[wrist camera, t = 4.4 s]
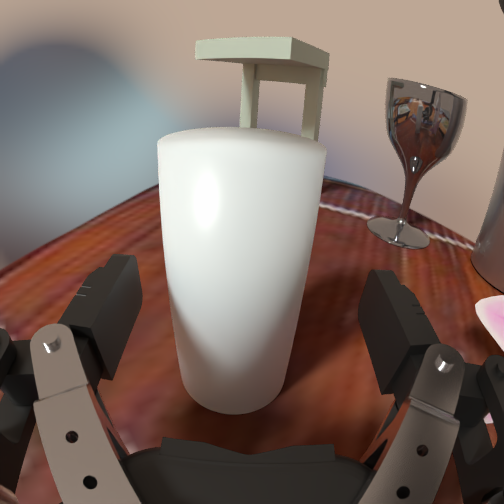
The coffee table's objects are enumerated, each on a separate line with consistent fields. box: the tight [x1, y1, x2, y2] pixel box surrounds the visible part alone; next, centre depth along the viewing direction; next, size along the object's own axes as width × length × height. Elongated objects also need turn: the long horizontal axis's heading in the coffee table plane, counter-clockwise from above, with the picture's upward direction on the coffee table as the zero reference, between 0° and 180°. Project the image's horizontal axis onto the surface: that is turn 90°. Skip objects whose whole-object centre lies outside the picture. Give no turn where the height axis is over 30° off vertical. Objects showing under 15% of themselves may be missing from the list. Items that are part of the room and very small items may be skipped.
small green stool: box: [195, 37, 329, 142], centre depth 31 cm, size 10×10×17 cm
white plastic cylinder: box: [157, 127, 327, 414], centre depth 12 cm, size 5×5×11 cm
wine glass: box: [367, 78, 468, 249], centre depth 26 cm, size 8×8×15 cm
